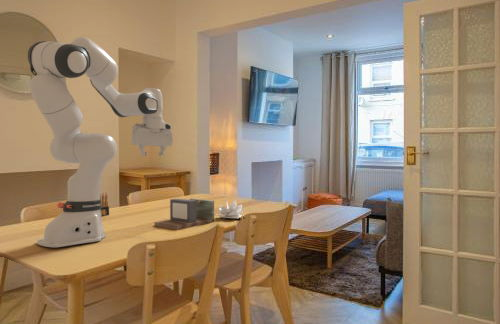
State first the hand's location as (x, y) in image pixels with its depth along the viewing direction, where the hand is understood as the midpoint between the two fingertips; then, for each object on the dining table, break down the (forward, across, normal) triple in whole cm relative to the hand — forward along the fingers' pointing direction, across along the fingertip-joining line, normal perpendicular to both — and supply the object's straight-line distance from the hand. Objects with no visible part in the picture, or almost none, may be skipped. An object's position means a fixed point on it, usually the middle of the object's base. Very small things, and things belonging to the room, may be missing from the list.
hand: (152, 156), depth 163 cm
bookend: (+30, +6, -15) cm, 34 cm away
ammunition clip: (+30, -9, +29) cm, 42 cm away
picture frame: (+28, +5, -15) cm, 32 cm away
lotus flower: (+30, +29, -22) cm, 47 cm away
